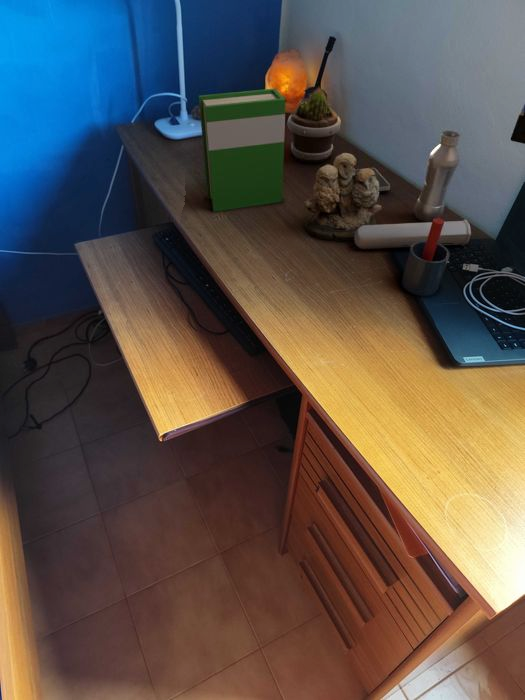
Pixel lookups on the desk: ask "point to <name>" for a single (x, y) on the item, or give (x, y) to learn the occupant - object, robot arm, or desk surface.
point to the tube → (409, 234)
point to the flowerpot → (313, 128)
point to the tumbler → (424, 269)
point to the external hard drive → (383, 183)
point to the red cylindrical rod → (432, 239)
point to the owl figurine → (342, 200)
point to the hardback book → (243, 147)
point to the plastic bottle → (438, 177)
